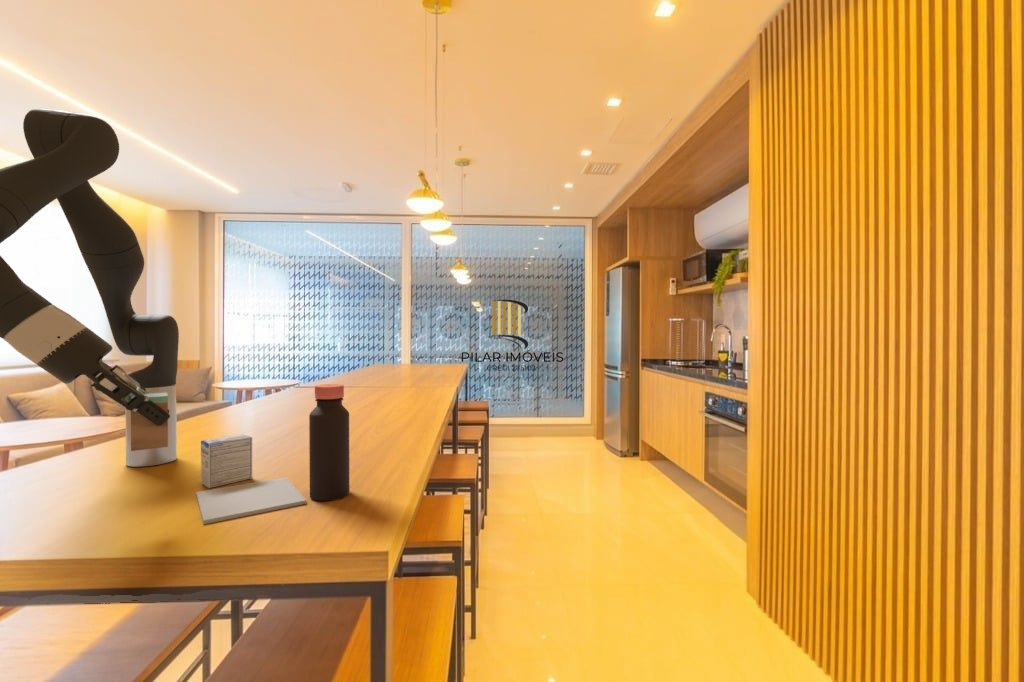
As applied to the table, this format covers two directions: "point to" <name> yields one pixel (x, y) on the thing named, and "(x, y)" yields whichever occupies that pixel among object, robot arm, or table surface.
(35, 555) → the table surface
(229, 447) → the medicine box
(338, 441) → the bottle
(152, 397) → the walnut block
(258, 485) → the rubber mat
